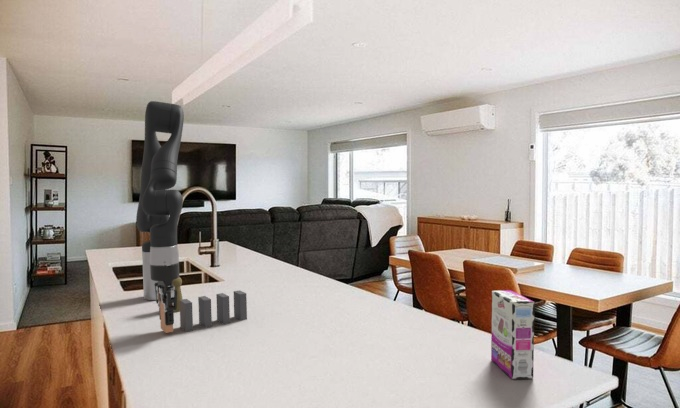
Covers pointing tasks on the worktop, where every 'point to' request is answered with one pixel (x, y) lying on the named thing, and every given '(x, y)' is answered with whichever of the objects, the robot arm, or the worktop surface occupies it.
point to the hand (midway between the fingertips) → (166, 322)
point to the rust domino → (162, 315)
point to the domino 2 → (205, 311)
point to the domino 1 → (186, 315)
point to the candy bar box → (513, 334)
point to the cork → (178, 292)
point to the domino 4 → (240, 305)
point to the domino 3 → (223, 308)
